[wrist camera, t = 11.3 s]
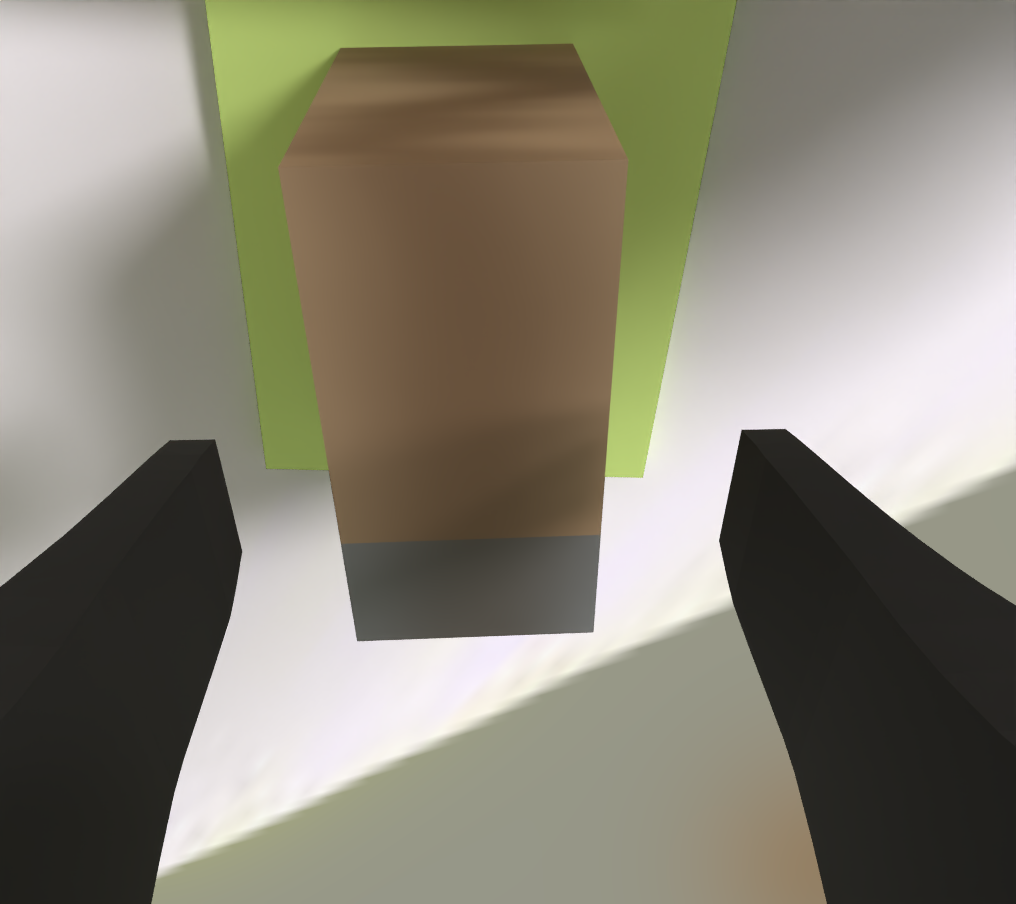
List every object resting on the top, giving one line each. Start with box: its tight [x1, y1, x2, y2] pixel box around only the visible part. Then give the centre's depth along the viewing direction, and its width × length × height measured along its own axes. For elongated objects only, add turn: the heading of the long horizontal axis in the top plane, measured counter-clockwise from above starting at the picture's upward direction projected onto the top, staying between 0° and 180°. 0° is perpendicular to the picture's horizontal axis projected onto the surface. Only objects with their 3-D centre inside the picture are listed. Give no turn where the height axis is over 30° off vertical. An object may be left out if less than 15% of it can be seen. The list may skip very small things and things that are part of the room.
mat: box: [205, 0, 737, 478], centre depth 20 cm, size 10×12×1 cm
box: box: [278, 44, 628, 641], centre depth 17 cm, size 4×9×7 cm, turn 1°
